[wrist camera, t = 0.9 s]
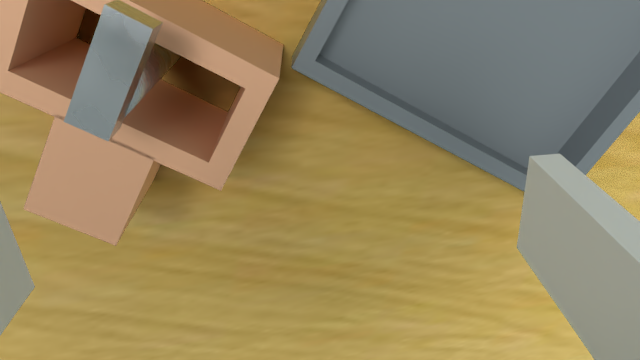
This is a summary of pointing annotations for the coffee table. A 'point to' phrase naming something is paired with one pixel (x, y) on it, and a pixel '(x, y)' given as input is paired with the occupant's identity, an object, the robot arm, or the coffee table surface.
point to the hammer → (118, 69)
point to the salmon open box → (144, 119)
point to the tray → (486, 73)
